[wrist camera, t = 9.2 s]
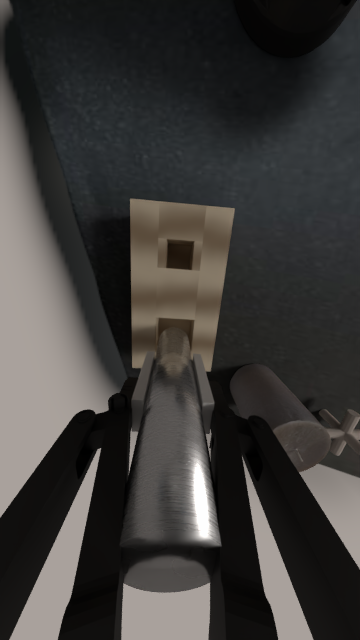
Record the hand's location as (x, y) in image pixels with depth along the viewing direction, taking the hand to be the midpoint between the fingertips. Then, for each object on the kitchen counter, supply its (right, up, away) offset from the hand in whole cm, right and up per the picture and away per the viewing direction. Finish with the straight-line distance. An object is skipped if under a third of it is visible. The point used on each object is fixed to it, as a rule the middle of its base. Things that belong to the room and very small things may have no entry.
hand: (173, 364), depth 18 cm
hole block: (0, +10, +12) cm, 15 cm away
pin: (0, +2, +5) cm, 6 cm away
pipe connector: (+33, -16, +21) cm, 43 cm away
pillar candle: (+16, -9, +18) cm, 26 cm away
